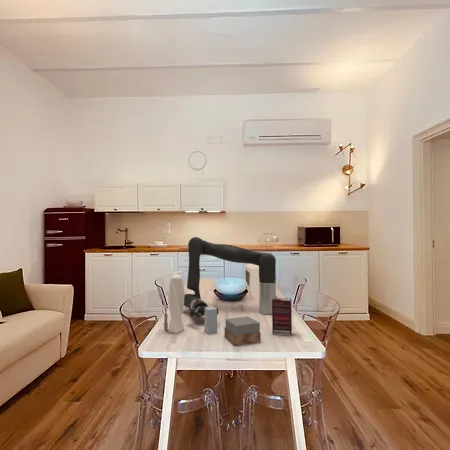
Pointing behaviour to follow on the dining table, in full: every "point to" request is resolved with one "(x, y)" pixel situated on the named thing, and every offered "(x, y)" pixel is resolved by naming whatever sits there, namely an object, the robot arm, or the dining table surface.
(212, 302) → the dining table surface
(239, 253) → the robot arm
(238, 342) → the walnut slab
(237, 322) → the charcoal block
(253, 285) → the gable box
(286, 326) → the supplement box
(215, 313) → the slate block
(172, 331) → the skyscraper
